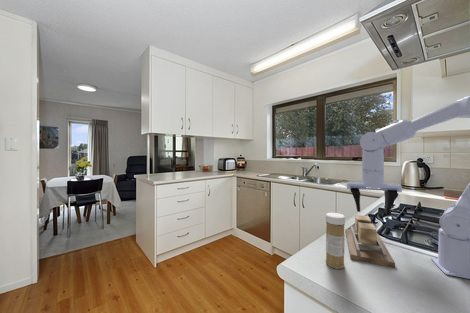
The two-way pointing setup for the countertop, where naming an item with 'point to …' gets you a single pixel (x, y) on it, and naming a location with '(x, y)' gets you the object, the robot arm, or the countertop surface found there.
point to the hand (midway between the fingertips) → (372, 212)
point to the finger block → (366, 233)
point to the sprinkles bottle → (335, 240)
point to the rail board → (367, 246)
